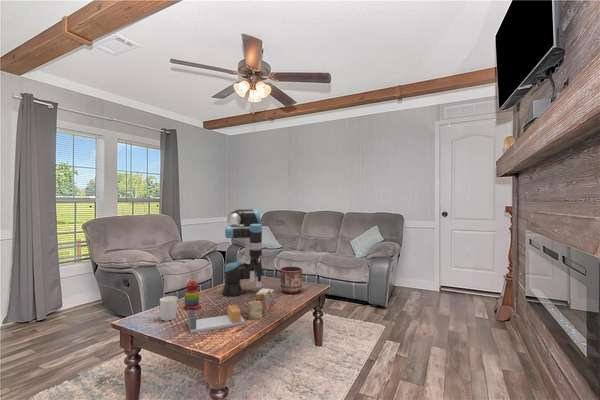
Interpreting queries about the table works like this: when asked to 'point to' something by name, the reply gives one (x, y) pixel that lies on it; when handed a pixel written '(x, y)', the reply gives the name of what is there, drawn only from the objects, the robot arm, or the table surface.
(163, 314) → the candle holder
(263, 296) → the stack of blocks
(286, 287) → the pottery
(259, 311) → the maple block
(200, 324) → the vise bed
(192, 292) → the stacking bear
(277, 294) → the table surface
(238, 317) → the block
